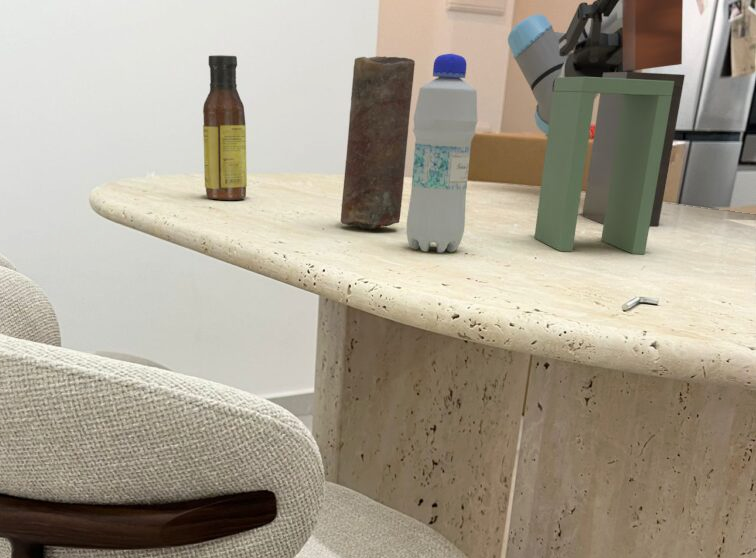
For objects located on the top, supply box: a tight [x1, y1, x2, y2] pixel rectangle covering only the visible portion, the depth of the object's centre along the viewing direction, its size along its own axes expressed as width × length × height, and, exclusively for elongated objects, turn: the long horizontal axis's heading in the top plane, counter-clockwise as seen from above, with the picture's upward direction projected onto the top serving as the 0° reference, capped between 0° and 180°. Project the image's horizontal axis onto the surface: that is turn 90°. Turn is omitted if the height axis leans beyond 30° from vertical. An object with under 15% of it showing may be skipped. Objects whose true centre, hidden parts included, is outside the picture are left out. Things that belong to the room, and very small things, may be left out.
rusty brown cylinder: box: [340, 56, 416, 230], centre depth 114 cm, size 8×7×20 cm
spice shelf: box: [581, 71, 686, 227], centre depth 134 cm, size 8×9×20 cm
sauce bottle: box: [202, 54, 248, 201], centre depth 138 cm, size 7×6×20 cm
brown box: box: [617, 0, 684, 72], centre depth 133 cm, size 6×18×11 cm, turn 174°
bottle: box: [406, 53, 478, 254], centre depth 101 cm, size 7×7×20 cm
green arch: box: [534, 77, 674, 255], centre depth 109 cm, size 10×10×18 cm
